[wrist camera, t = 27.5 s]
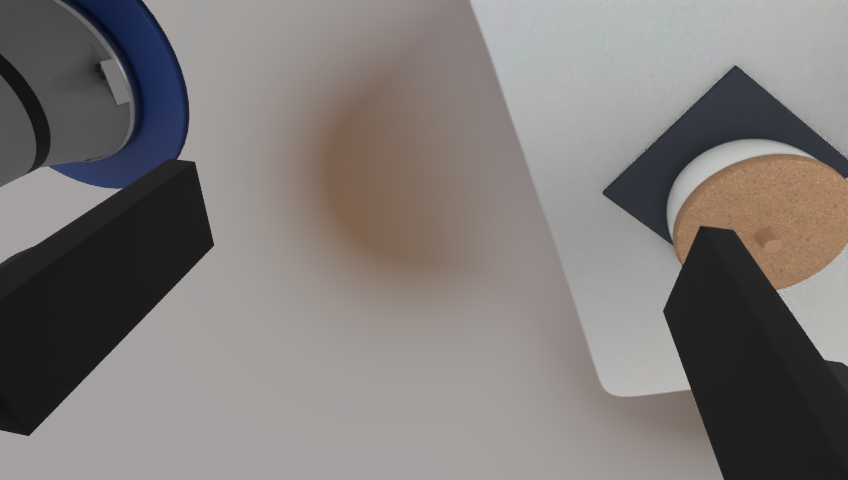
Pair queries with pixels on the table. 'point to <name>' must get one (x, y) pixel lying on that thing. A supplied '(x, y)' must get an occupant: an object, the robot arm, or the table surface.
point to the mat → (712, 144)
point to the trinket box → (764, 206)
